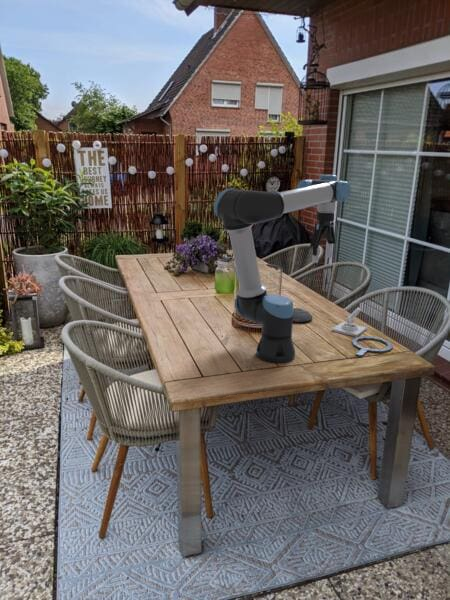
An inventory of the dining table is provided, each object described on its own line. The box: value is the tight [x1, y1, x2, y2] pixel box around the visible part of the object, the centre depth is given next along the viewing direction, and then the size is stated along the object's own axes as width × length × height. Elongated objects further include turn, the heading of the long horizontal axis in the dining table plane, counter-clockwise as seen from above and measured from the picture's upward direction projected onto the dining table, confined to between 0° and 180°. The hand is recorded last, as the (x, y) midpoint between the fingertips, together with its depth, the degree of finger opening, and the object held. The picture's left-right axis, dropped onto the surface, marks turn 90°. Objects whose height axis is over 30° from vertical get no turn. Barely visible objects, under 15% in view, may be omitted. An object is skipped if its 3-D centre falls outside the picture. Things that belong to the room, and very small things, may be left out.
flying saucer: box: [293, 307, 313, 323], centre depth 218 cm, size 15×15×6 cm
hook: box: [341, 307, 361, 331], centre depth 202 cm, size 8×12×7 cm
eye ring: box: [351, 335, 394, 358], centre depth 184 cm, size 23×16×1 cm
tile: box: [331, 321, 368, 338], centre depth 203 cm, size 12×12×1 cm
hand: (321, 260), depth 198 cm, fingers open, 13 cm apart
